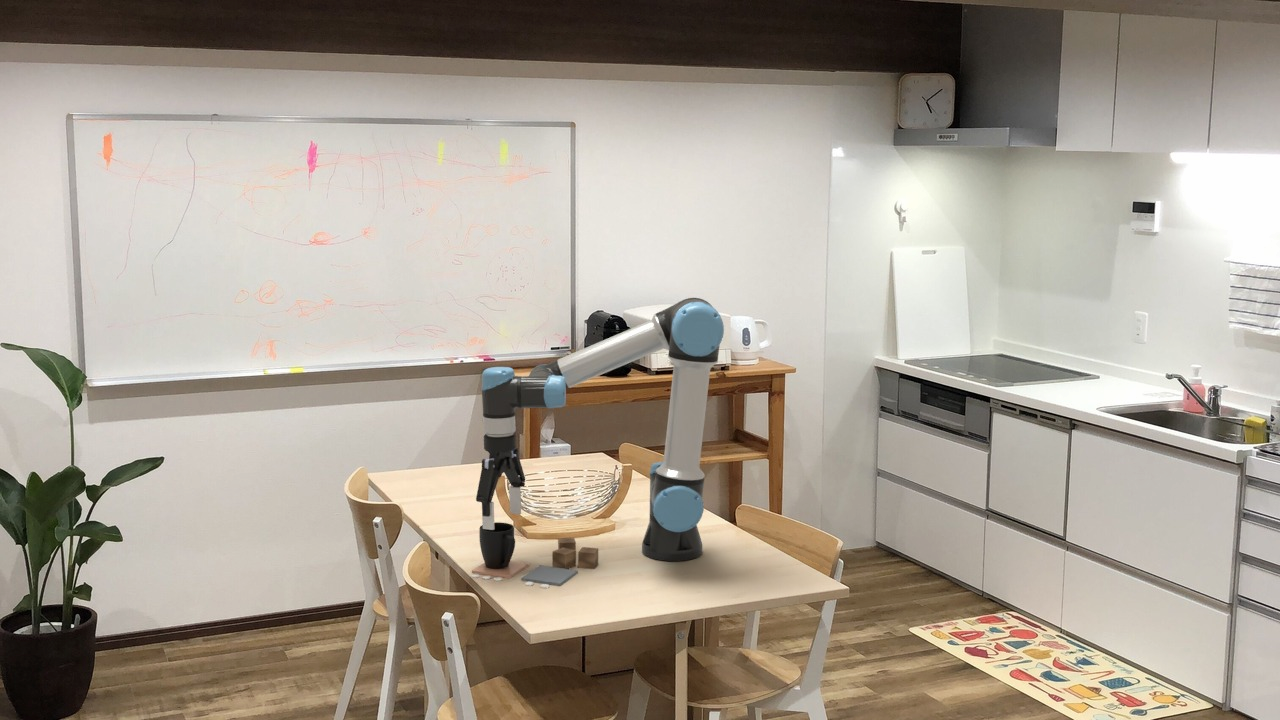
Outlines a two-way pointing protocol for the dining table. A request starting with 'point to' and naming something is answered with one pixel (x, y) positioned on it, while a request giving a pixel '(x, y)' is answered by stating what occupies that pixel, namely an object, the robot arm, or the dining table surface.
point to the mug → (497, 545)
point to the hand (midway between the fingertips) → (502, 521)
